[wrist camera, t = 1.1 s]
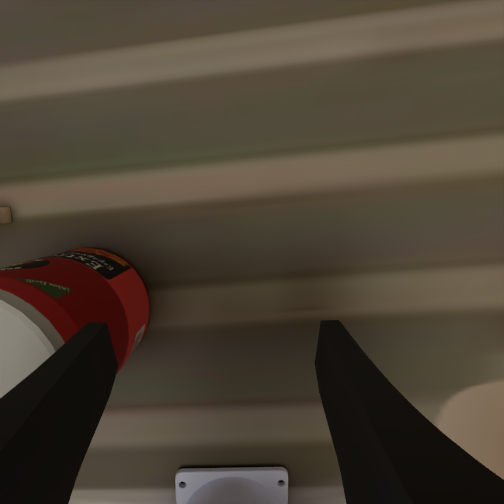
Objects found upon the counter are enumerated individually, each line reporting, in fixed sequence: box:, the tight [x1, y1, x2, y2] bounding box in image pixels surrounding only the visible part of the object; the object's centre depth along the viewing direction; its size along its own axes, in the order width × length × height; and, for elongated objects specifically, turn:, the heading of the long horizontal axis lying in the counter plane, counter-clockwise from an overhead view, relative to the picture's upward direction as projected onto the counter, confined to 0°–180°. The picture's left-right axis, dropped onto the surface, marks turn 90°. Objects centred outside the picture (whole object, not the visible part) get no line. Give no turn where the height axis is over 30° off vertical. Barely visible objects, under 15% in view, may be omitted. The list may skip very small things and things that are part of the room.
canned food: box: [0, 248, 149, 398], centre depth 17 cm, size 8×8×11 cm
